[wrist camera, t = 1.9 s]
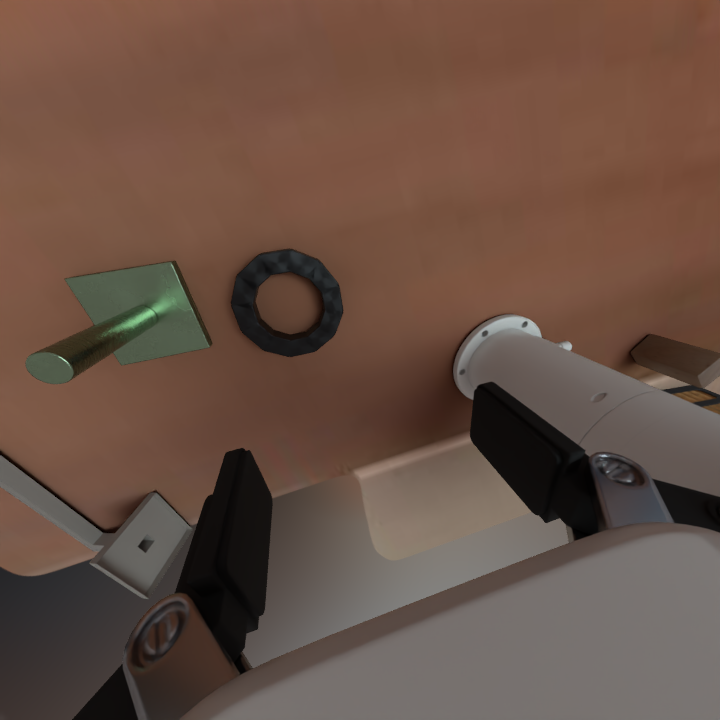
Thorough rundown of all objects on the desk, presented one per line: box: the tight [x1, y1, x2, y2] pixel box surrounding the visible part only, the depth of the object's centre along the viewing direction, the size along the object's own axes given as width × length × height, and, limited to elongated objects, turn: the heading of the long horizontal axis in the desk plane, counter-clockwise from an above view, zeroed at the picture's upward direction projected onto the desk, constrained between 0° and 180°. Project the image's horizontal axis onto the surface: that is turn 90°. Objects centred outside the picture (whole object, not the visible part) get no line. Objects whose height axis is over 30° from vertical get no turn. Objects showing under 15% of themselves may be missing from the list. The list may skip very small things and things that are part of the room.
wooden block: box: [631, 334, 720, 388], centre depth 37 cm, size 4×4×8 cm
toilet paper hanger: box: [0, 455, 192, 599], centre depth 28 cm, size 23×9×8 cm, turn 13°
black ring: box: [231, 248, 343, 357], centre depth 25 cm, size 10×10×2 cm
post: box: [26, 261, 212, 384], centre depth 19 cm, size 8×8×11 cm
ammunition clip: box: [662, 385, 720, 415], centre depth 43 cm, size 11×2×12 cm, turn 90°
